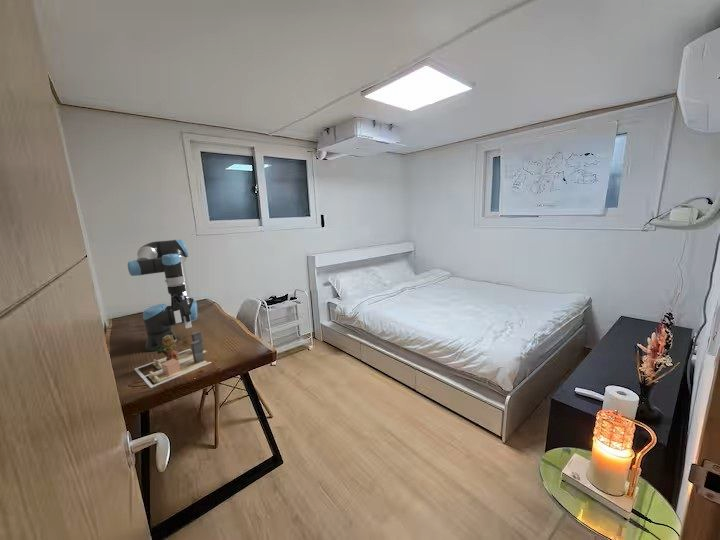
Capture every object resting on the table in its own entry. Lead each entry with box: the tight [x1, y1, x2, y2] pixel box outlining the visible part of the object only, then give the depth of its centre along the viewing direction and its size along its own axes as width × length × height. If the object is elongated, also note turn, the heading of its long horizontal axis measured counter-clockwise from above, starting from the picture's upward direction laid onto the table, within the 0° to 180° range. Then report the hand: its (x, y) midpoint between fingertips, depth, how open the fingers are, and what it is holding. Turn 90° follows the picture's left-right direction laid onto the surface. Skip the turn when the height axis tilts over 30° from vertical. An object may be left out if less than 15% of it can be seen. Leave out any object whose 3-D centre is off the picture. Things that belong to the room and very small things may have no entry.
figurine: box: [155, 335, 179, 361], centre depth 143 cm, size 9×8×15 cm
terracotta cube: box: [162, 359, 181, 376], centre depth 134 cm, size 5×5×5 cm
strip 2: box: [147, 340, 209, 385], centre depth 136 cm, size 11×22×11 cm, turn 140°
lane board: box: [133, 348, 212, 389], centre depth 140 cm, size 27×25×1 cm
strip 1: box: [152, 331, 208, 371], centre depth 147 cm, size 11×22×11 cm, turn 140°
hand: (183, 325), depth 148 cm, fingers open, 13 cm apart
